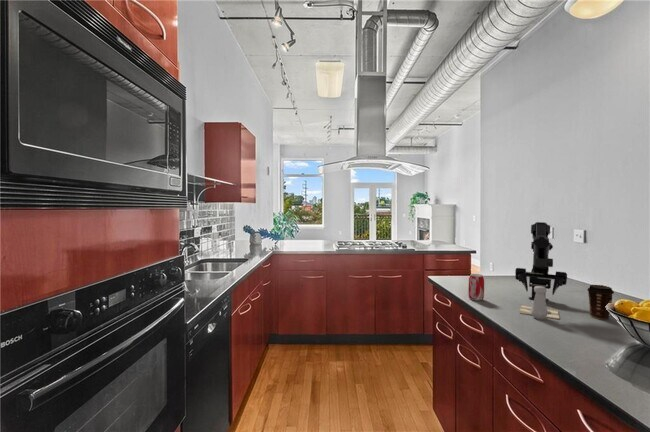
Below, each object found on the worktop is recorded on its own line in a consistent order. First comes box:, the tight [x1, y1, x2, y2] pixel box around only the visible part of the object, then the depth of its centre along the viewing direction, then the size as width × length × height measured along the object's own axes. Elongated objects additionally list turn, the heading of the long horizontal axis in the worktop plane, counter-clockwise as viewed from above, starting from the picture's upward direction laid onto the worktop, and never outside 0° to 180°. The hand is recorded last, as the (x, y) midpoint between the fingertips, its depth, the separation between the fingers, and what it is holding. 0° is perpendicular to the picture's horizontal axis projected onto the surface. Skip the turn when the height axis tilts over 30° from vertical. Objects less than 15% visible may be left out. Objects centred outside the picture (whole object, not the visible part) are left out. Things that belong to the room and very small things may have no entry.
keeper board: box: [519, 304, 560, 320], centre depth 152 cm, size 14×14×1 cm
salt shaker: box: [531, 286, 548, 321], centre depth 144 cm, size 6×6×13 cm
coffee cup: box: [587, 284, 615, 320], centre depth 146 cm, size 9×8×13 cm
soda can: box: [467, 273, 485, 302], centre depth 171 cm, size 7×7×12 cm
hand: (539, 292), depth 146 cm, fingers open, 9 cm apart
